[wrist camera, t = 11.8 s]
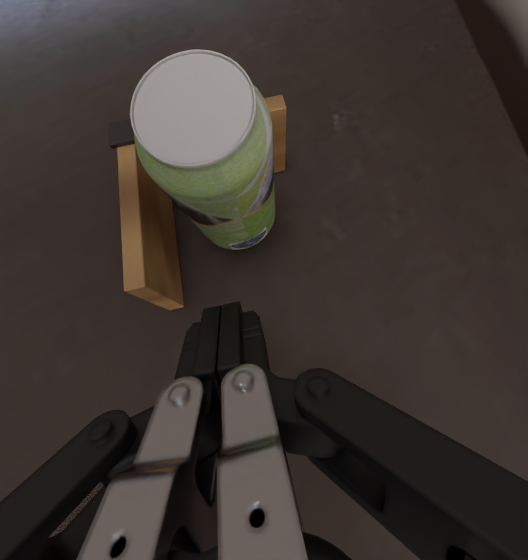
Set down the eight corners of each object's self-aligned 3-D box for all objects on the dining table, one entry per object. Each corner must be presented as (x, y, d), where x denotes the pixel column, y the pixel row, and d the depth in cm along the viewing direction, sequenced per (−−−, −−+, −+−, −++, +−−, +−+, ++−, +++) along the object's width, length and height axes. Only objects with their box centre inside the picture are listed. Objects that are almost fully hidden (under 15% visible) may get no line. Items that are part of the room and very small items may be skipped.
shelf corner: (314, 279, 20) (329, 245, 14) (165, 311, 20) (114, 291, 14) (281, 156, 23) (281, 86, 17) (153, 184, 23) (108, 123, 17)
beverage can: (266, 180, 22) (249, -3, 11) (288, 259, 20) (296, 132, 9) (194, 198, 22) (103, 32, 11) (209, 278, 20) (114, 177, 9)
